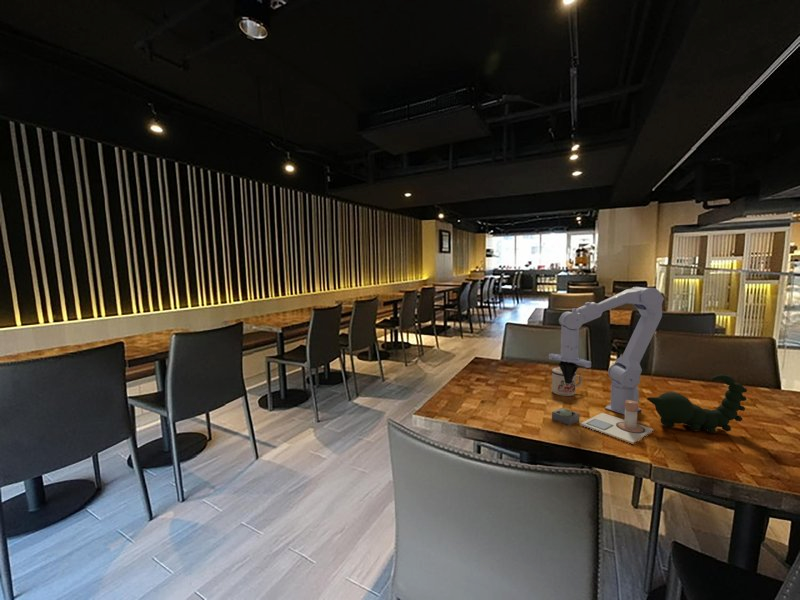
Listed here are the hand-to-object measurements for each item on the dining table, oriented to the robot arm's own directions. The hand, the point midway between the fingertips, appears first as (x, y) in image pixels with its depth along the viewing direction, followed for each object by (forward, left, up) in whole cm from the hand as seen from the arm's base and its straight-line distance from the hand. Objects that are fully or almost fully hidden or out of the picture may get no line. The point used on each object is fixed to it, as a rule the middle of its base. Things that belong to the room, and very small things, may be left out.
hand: (568, 382), depth 123 cm
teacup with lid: (-15, -9, -10) cm, 20 cm away
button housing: (+10, +5, -9) cm, 15 cm away
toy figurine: (-16, +31, -10) cm, 36 cm away
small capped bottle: (+1, +21, -8) cm, 22 cm away
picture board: (+3, +18, -9) cm, 20 cm away
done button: (+10, +5, -8) cm, 14 cm away
